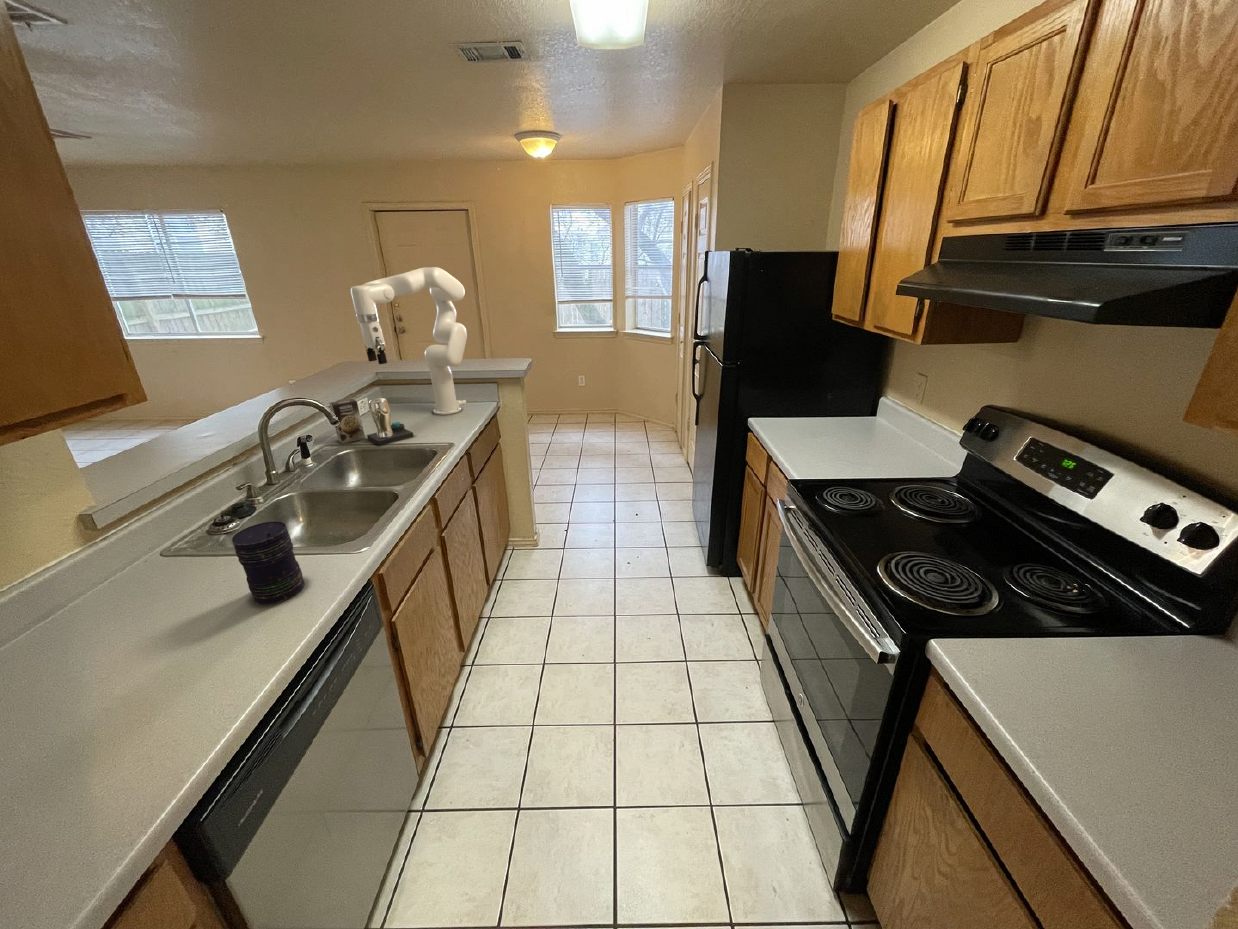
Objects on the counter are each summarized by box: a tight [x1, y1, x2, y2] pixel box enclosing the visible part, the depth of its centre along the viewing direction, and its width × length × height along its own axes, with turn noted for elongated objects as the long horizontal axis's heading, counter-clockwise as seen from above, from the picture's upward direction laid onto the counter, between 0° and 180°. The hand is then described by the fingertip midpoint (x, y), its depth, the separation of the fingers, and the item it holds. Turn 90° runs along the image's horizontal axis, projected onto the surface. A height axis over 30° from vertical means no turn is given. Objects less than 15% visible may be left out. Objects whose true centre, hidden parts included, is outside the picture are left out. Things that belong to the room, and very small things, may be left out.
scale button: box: [391, 421, 401, 427], centre depth 213 cm, size 3×3×2 cm
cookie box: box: [329, 398, 366, 444], centre depth 206 cm, size 9×6×16 cm
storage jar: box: [231, 520, 306, 606], centre depth 109 cm, size 10×10×15 cm
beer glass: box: [368, 397, 394, 438], centre depth 203 cm, size 7×7×15 cm
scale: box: [366, 423, 414, 446], centre depth 209 cm, size 14×12×4 cm
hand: (378, 362), depth 205 cm, fingers open, 9 cm apart
